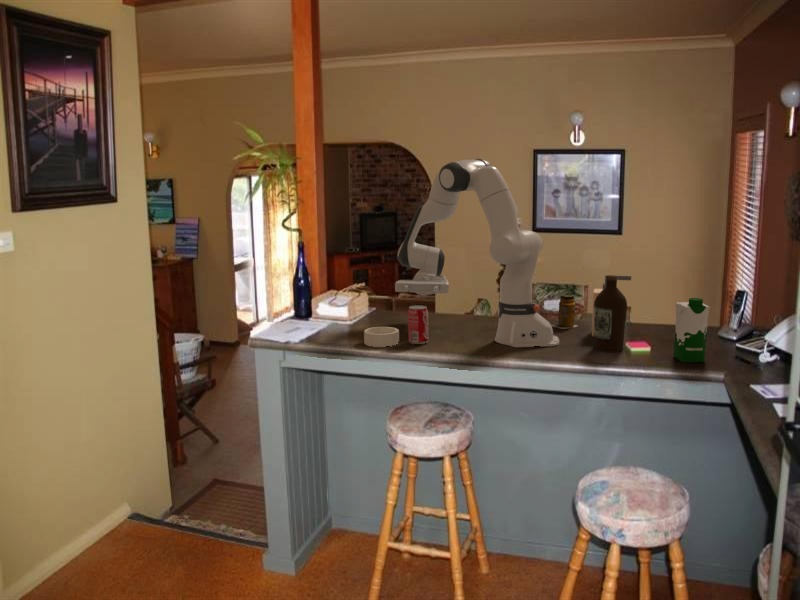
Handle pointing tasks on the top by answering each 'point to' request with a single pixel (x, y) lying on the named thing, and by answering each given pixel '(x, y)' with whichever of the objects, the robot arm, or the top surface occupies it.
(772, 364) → the top surface
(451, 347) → the top surface
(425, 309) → the soda can
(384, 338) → the bowl
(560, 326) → the condiment
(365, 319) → the top surface
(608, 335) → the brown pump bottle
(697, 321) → the milk carton
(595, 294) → the soap dispenser
